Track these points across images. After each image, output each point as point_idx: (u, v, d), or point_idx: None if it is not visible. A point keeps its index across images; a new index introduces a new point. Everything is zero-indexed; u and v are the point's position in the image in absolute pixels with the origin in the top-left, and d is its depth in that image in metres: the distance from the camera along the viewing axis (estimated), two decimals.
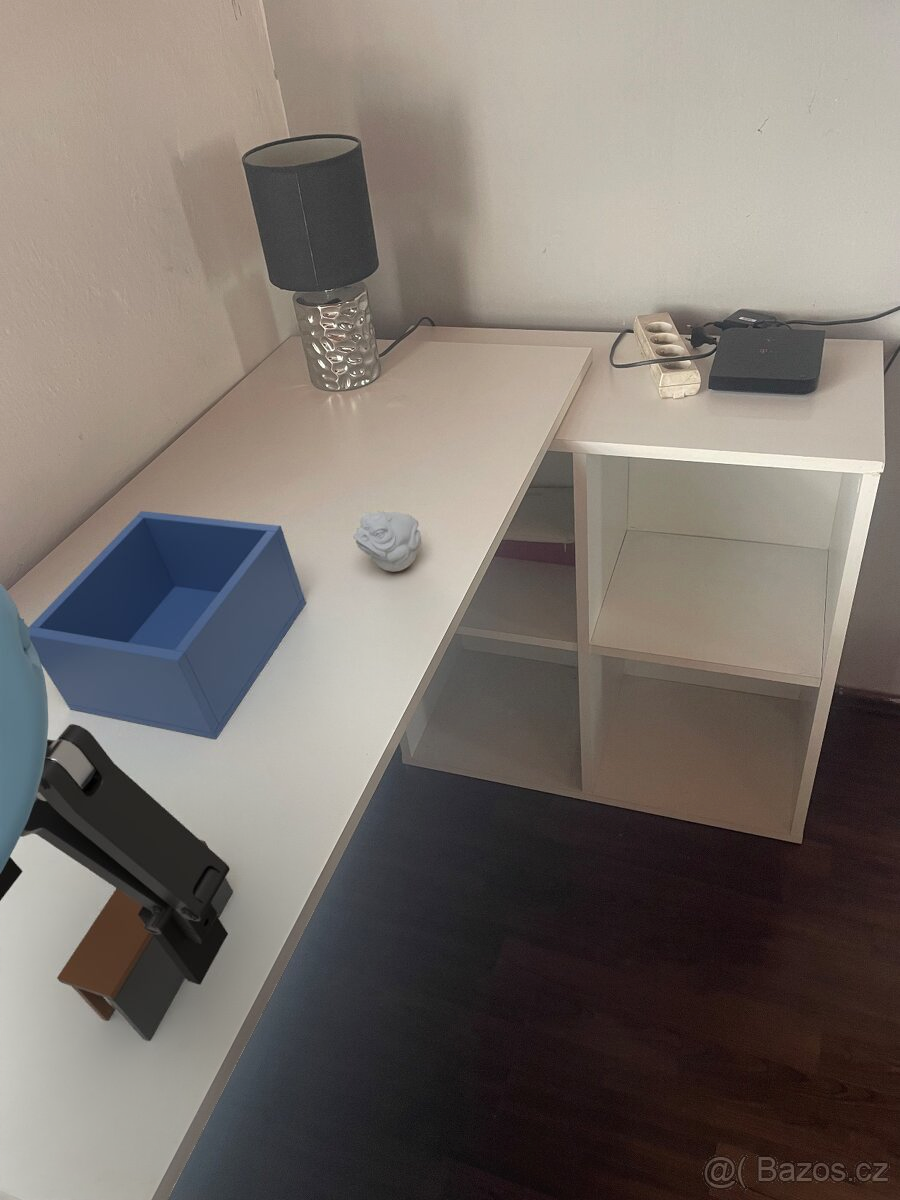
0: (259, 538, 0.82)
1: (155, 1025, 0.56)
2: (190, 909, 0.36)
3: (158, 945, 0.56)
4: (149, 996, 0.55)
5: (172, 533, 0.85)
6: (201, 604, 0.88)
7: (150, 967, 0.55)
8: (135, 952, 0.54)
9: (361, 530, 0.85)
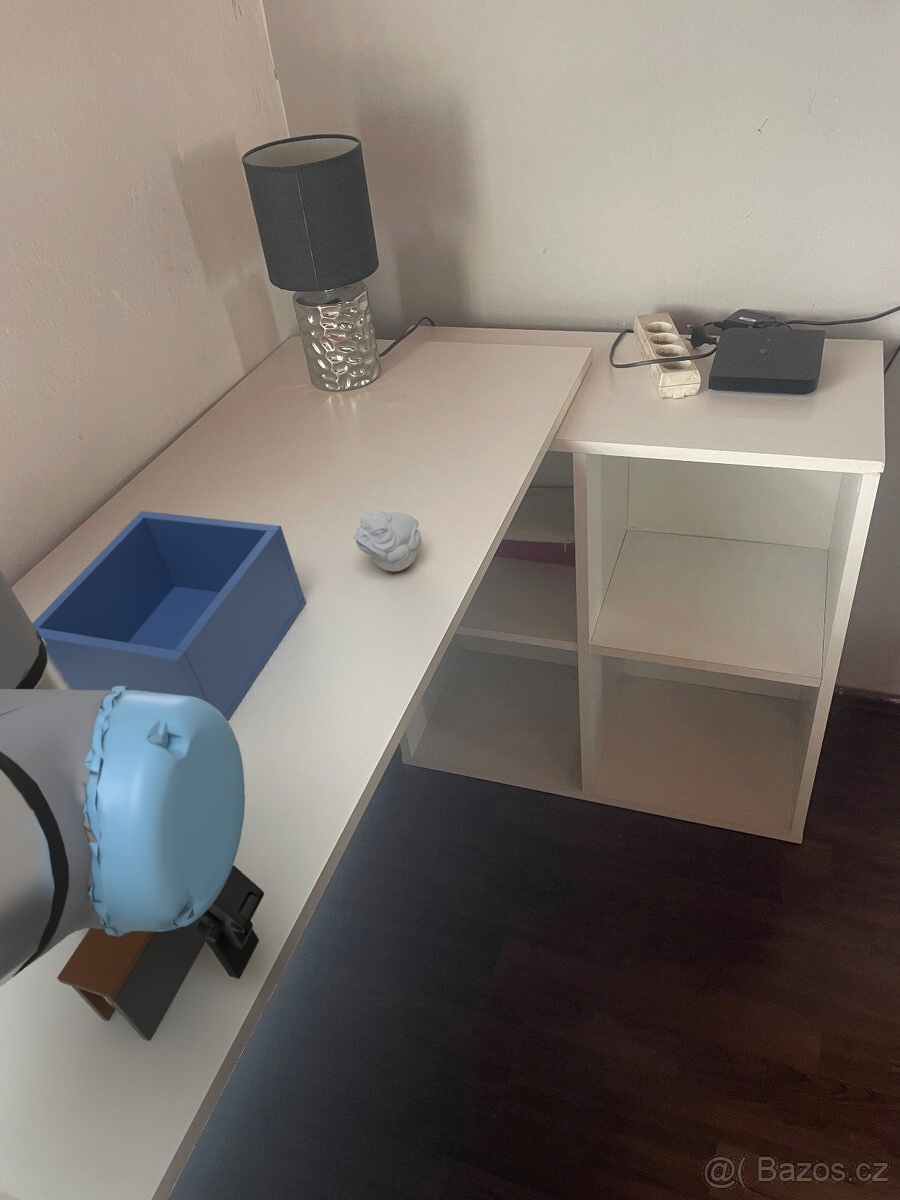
0: (259, 538, 0.82)
1: (155, 1025, 0.56)
2: (237, 924, 0.50)
3: (158, 945, 0.56)
4: (149, 996, 0.55)
5: (172, 533, 0.85)
6: (201, 604, 0.88)
7: (150, 967, 0.55)
8: (135, 952, 0.54)
9: (361, 530, 0.85)
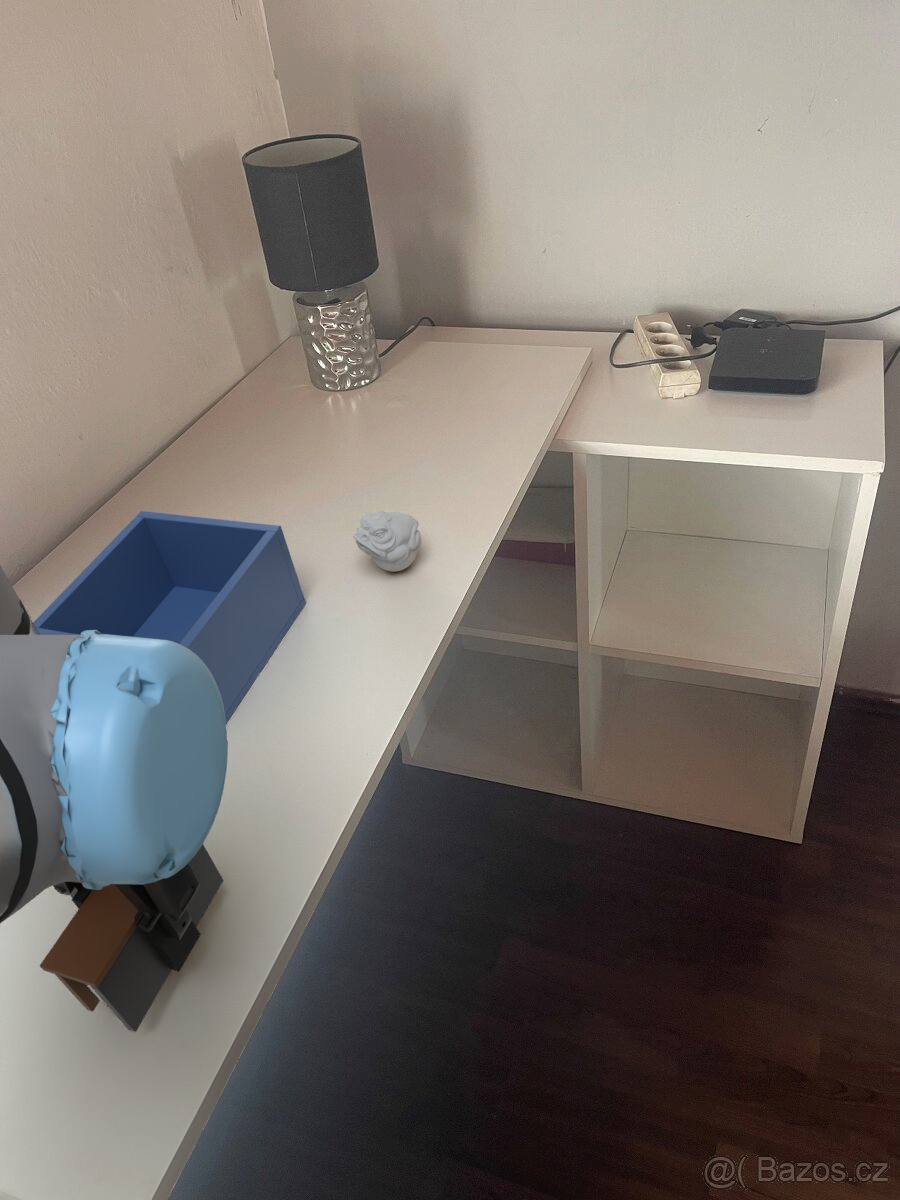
0: (259, 538, 0.82)
1: (141, 1015, 0.55)
2: (174, 915, 0.51)
3: None
4: (135, 985, 0.54)
5: (172, 533, 0.85)
6: (201, 604, 0.88)
7: (136, 955, 0.54)
8: (120, 939, 0.52)
9: (361, 530, 0.85)
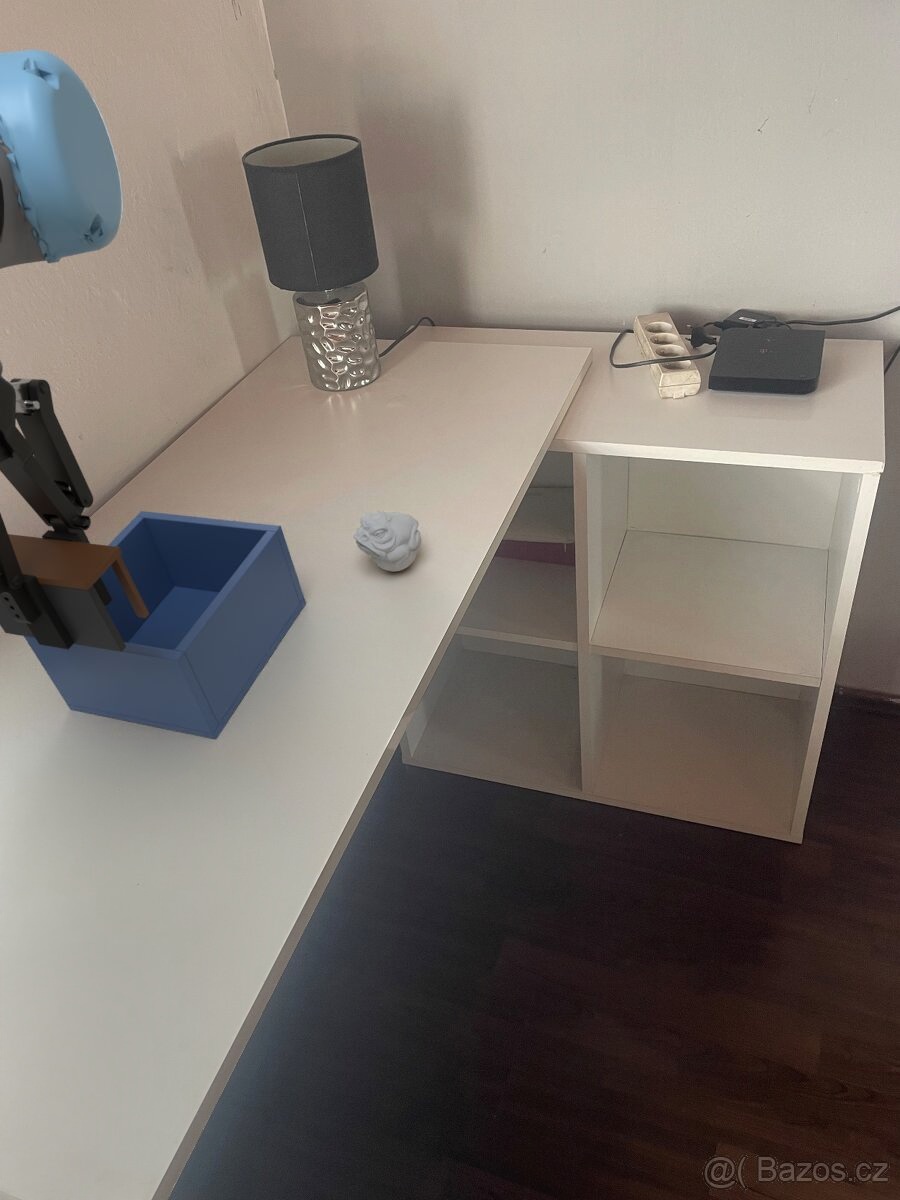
0: (259, 538, 0.82)
1: (12, 631, 0.66)
2: None
3: None
4: (5, 609, 0.64)
5: (172, 533, 0.85)
6: (201, 604, 0.88)
7: None
8: None
9: (361, 530, 0.85)
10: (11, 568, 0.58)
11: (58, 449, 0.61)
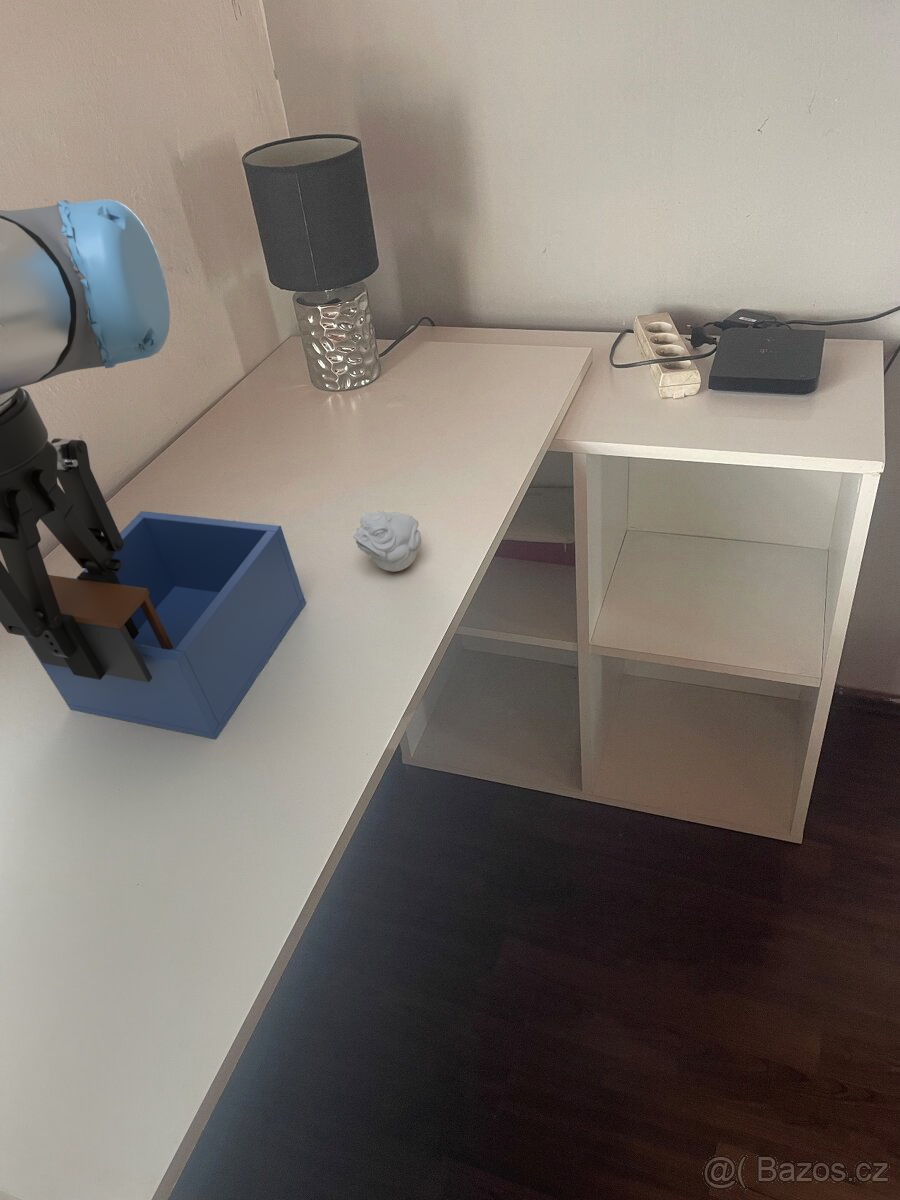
0: (259, 538, 0.82)
1: (48, 661, 0.73)
2: None
3: None
4: (43, 643, 0.71)
5: (172, 533, 0.85)
6: (201, 604, 0.88)
7: None
8: None
9: (361, 530, 0.85)
10: (52, 609, 0.65)
11: (93, 501, 0.67)
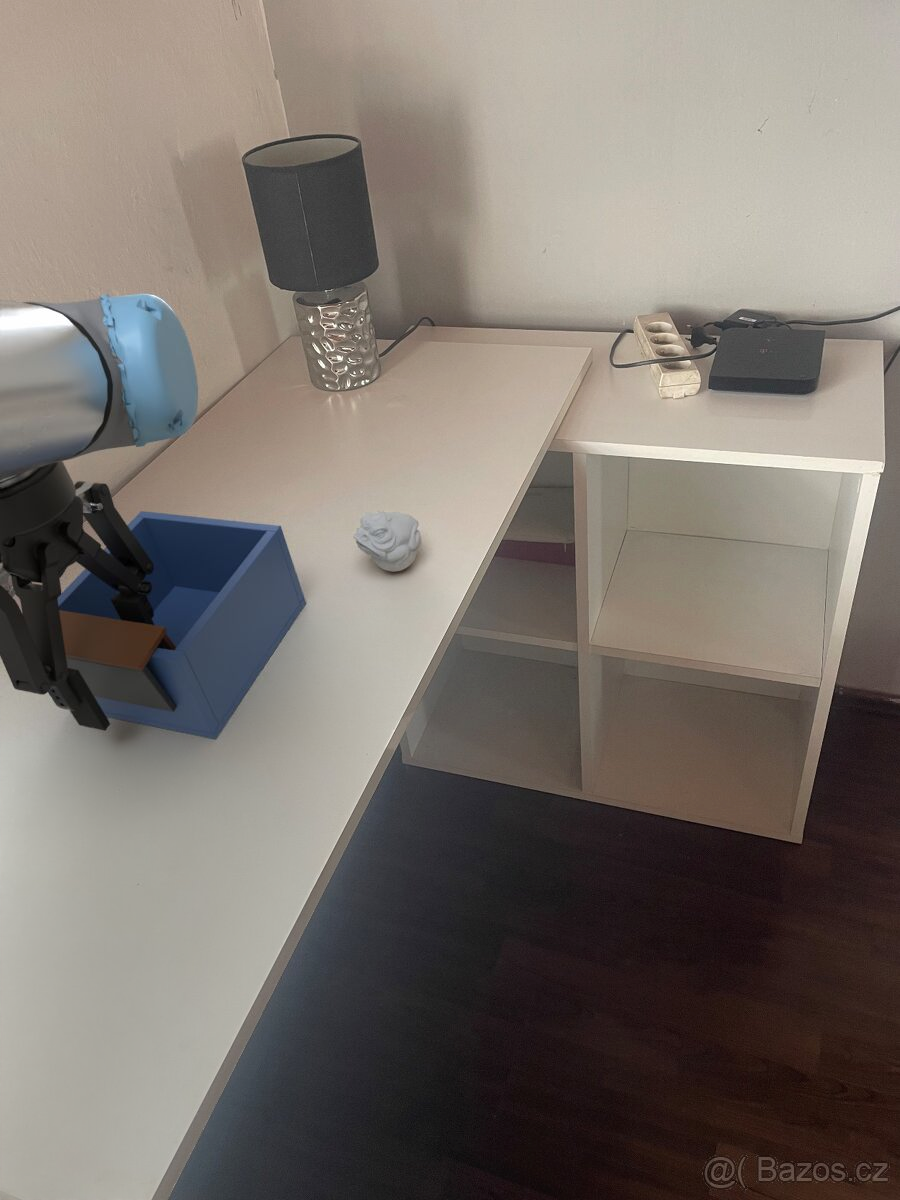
0: (259, 538, 0.82)
1: None
2: None
3: (80, 666, 0.72)
4: None
5: (172, 533, 0.85)
6: (201, 604, 0.88)
7: (71, 668, 0.72)
8: None
9: (361, 530, 0.85)
10: (60, 664, 0.66)
11: (121, 536, 0.71)
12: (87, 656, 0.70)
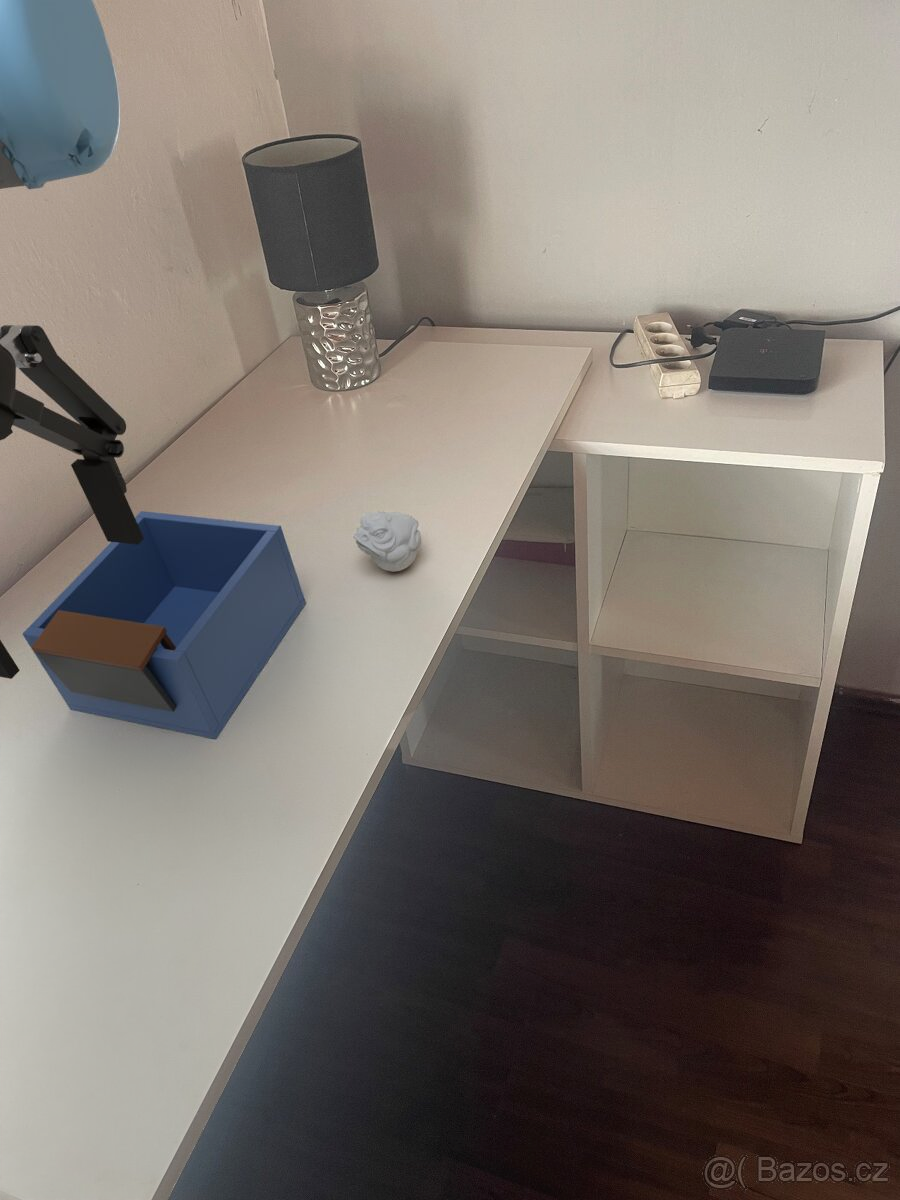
0: (259, 538, 0.82)
1: (76, 691, 0.76)
2: None
3: (80, 666, 0.72)
4: (70, 677, 0.74)
5: (172, 533, 0.85)
6: (201, 604, 0.88)
7: (71, 668, 0.72)
8: (58, 651, 0.71)
9: (361, 530, 0.85)
10: None
11: (75, 392, 0.55)
12: (87, 656, 0.70)
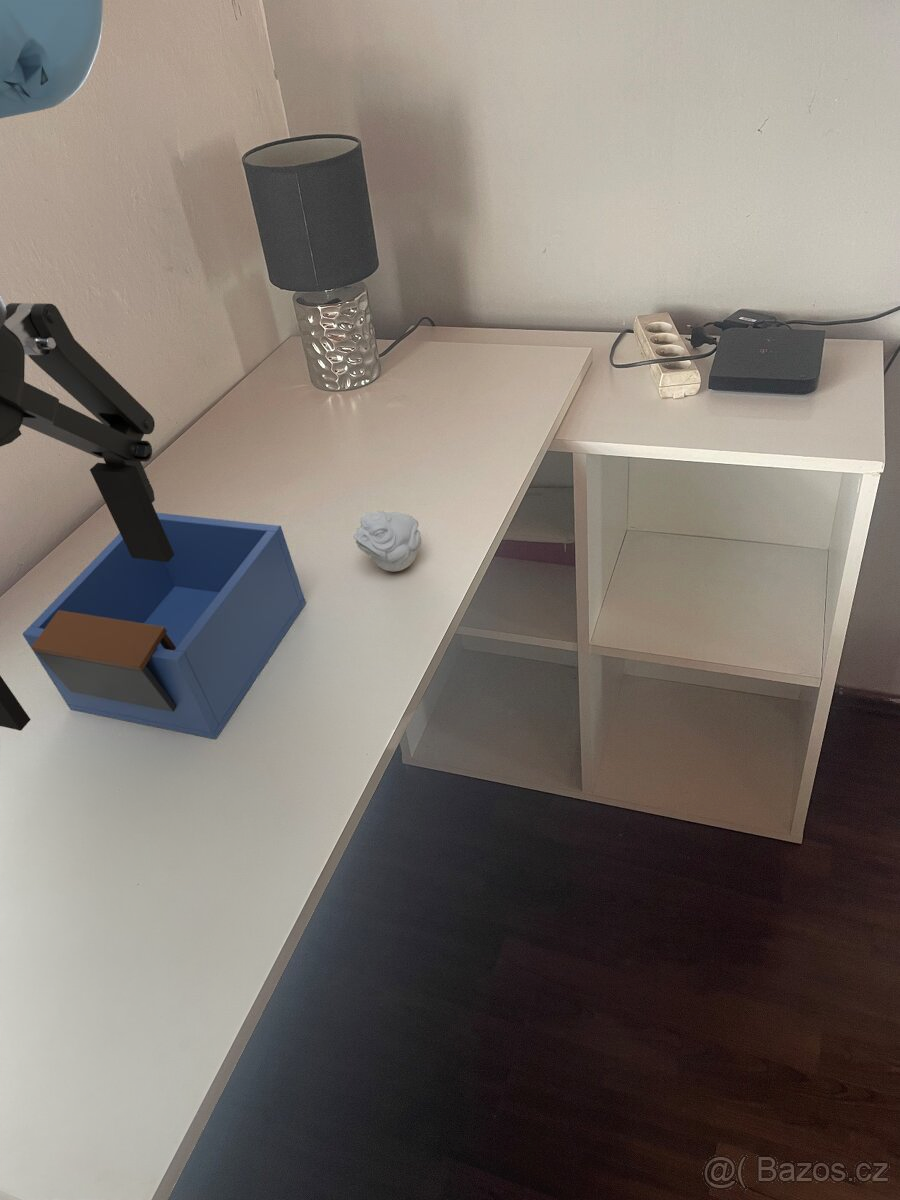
0: (259, 538, 0.82)
1: (76, 691, 0.76)
2: None
3: (80, 666, 0.72)
4: (70, 677, 0.74)
5: (172, 533, 0.85)
6: (201, 604, 0.88)
7: (71, 668, 0.72)
8: (58, 651, 0.71)
9: (361, 530, 0.85)
10: None
11: (96, 384, 0.46)
12: (87, 656, 0.70)
